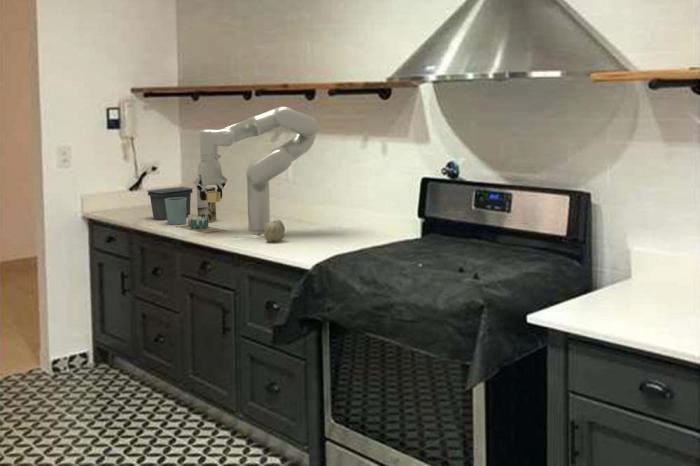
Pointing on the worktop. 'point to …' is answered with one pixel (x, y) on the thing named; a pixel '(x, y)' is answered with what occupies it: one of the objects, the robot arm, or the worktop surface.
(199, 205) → the coffee box
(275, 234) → the tan rounded piece
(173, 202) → the grey green cup
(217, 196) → the brass gear
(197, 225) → the gear board
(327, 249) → the worktop surface
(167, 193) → the storage bin
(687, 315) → the worktop surface
